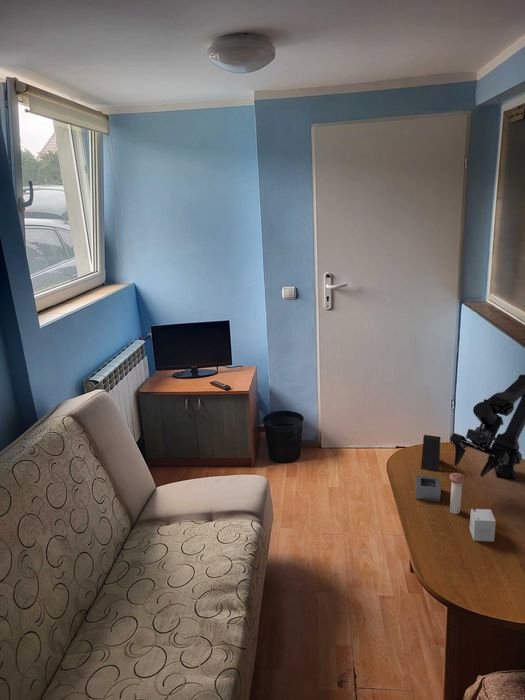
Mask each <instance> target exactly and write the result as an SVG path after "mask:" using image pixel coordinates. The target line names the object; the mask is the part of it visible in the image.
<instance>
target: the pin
mask: <svg viewBox="0 0 525 700" xmlns="http://www.w3.org/2000/svg"><path fill="white" fill-rule="evenodd" d="M465 479H466V477H465V475H463V474H462V473H459V472H452V473H450V474H449V481H450V482H451V486H450V487H451V488H450V502H449V512H450V513H451V514H454V515H459V514H460V513H461V504H462V491H463V490H462V489H463V484H464V483H465V481H466V480H465Z"/></svg>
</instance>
